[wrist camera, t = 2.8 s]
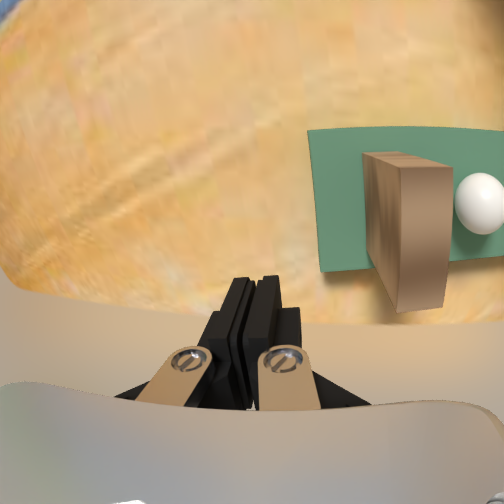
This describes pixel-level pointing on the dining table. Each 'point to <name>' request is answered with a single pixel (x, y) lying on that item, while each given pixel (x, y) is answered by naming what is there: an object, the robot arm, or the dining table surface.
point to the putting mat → (352, 185)
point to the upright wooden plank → (409, 226)
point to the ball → (480, 203)
